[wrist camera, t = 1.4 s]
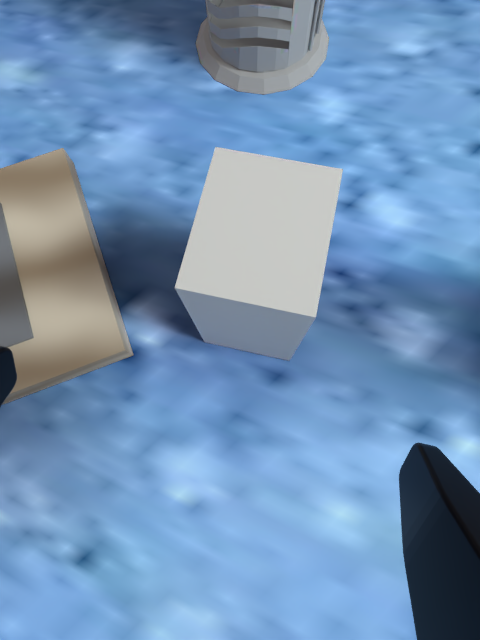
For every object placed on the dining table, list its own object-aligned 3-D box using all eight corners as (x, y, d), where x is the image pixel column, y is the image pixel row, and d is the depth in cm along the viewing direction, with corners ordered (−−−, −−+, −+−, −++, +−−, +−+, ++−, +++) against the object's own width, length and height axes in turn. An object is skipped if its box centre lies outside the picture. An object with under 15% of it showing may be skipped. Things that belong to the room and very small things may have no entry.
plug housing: (289, 360, 22) (315, 317, 13) (204, 342, 22) (174, 288, 13) (308, 265, 23) (343, 169, 14) (228, 249, 24) (215, 147, 15)
